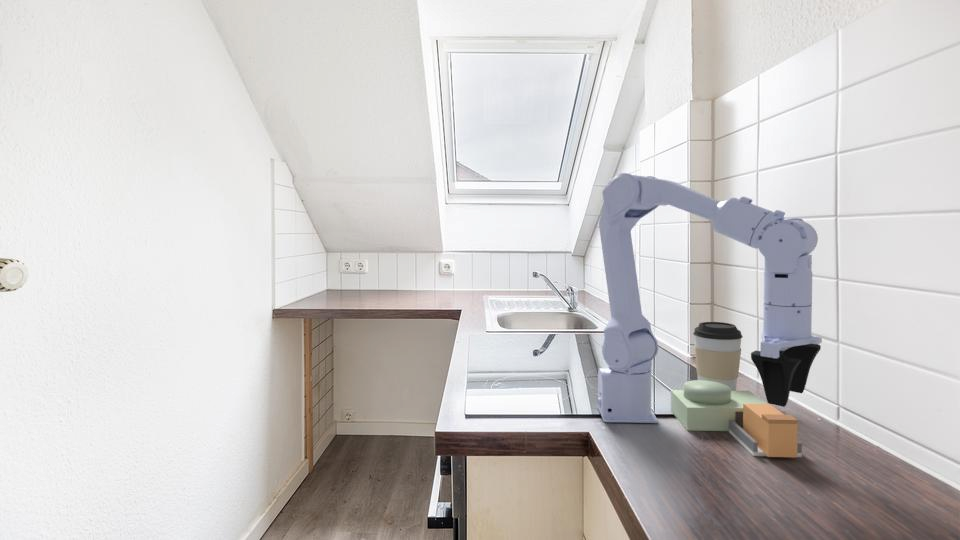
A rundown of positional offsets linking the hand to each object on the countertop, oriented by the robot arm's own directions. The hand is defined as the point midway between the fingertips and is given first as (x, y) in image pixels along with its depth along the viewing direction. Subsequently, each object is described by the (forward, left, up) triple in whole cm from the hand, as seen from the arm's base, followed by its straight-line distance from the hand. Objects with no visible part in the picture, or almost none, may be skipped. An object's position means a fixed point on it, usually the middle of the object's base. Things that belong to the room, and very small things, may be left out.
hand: (785, 397), depth 67 cm
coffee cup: (+2, +29, -10) cm, 31 cm away
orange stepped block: (0, +4, -9) cm, 10 cm away
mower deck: (-3, +11, -10) cm, 15 cm away
